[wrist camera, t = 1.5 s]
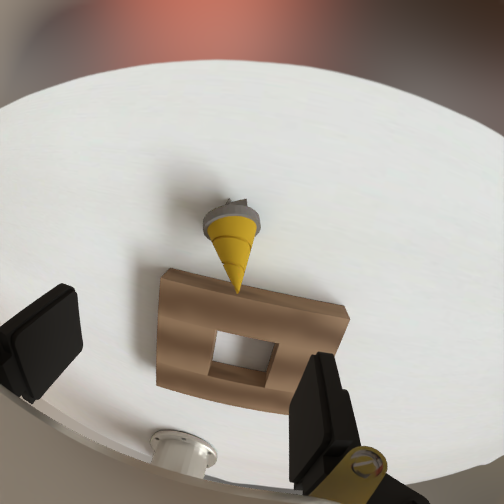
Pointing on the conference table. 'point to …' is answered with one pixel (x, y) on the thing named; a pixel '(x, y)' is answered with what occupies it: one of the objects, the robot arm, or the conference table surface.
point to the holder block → (244, 324)
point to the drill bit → (232, 236)
